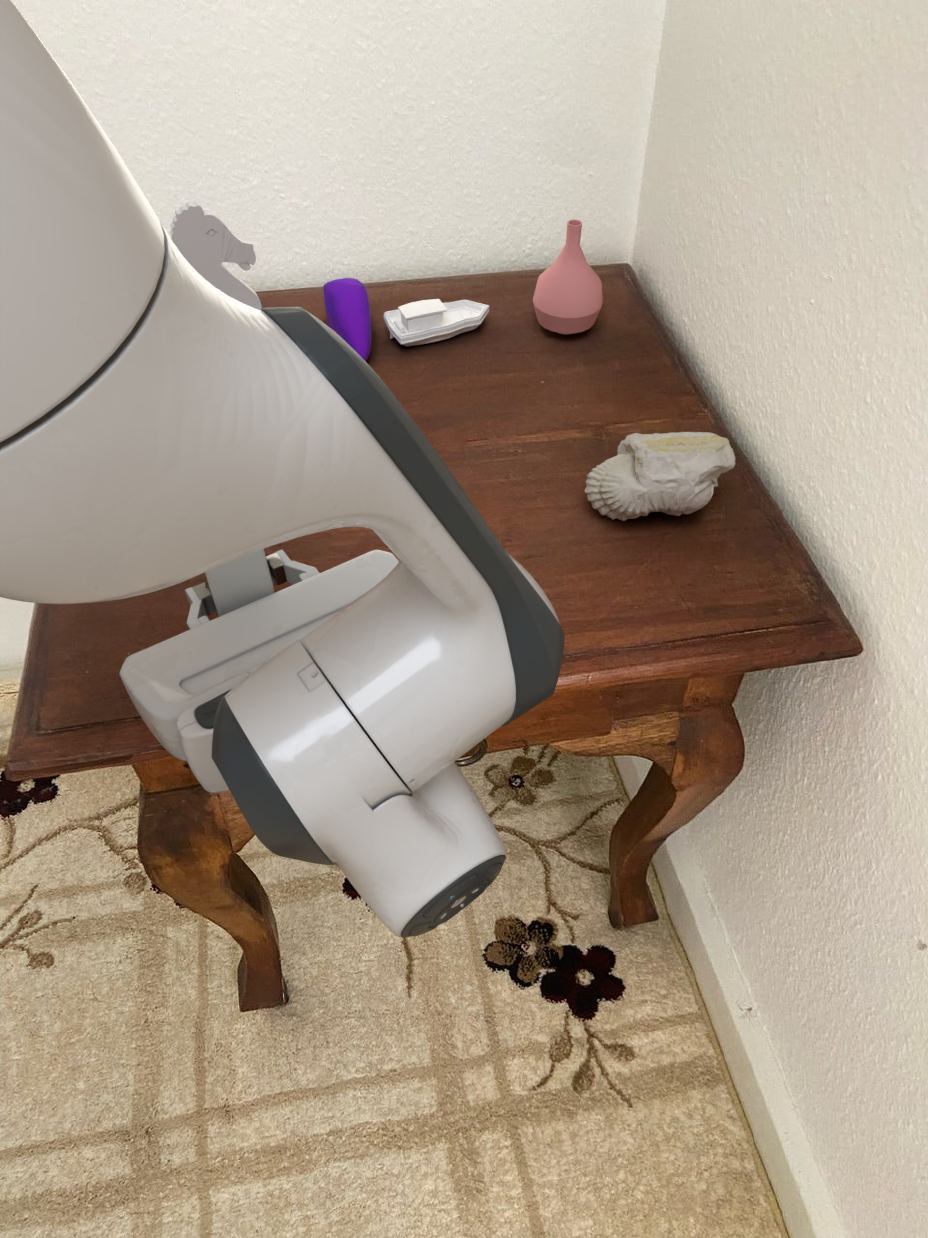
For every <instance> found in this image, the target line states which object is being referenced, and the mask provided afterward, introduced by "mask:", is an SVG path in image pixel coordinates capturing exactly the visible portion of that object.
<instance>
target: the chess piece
mask: <svg viewBox="0 0 928 1238" xmlns="http://www.w3.org/2000/svg"><path fill="white" fill-rule="evenodd" d="M174 214H175V215H174V216H173V217H172V222H171V223H170V229H171V230H170V231H169V233H170V238H171V240H172V241H173V243H174V244H175V246H176V247H177V248H178V250H179V251H180V253H181V254H182V255H183V257H184V258H185V259H186V260H187V261H188V263H189V264H190V265H191V266H192V267H193V268H194V269H195V270H196V271H197V272H198V273H199V274H200V275H201V276H202V277H203V278H204V279H206V280H207V281H208V282H209V283H210V284H212V285H213V286H214V287H216V288H217V289H219V290H220V291H222V292H223V293H225V294H226V295H228V296H230V297H232V298H234V299H235V300H237V301H239V302H241V303H243V304H246V305H248V306H250V307H253V308H255V309H258V310H261V308H263V306H262V305H263V304H262V302H261V300H260V298H259V296H258V294H257V293H256V291H255V290H254V289H253V288H252V287H251V286H250V285H249V284H248V283H246V282H245V281H244V280H242V279H241V278H240V277H239V276H237V275H236V274H235V273H234V272H232V271H231V270H230V269H228V268H227V266H225V265H224V264H223V263H230V264H236V265H237V266H238V267H239V268H240V269H242V270H243V271H247V272H248V271H250V270H251V268H252V266H255V264H256V262H257V256H256V253H255V250H254V244H253V242H252V241H250V240H244V239H241V238H239V237H238V236H237V235H236V234H235V233H233V232H232V230H231V229H230V228H229V227H228V225H227V224H226V223H225V222H224V221H223V219H221V217H220V216H219V215H218V214H217V213H215V212H213V211H211V210H204V209H203V207H202V205H201V203H200V202H199V201H197V200H195V201H194V202H192V201H187V202H186V204H185V205H180V207H179V208H178V209H175V211H174ZM251 265H252V266H251Z"/></svg>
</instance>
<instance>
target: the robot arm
mask: <svg viewBox="0 0 928 1238" xmlns="http://www.w3.org/2000/svg"><path fill="white" fill-rule="evenodd" d="M404 407H405V406H403V404H401V402H400V401H399V399H398V398H397V396H396V395H394V393H393V392H392V390H391V389H390V388H389V386H388V385H386V383H385V382H384V381H383V379H382V378H381V377H380V376H379V374H377V373H376V371H375V370H374V369H373V368H372V367H371V366H370V364H369V363H367V360H366V361H365V360H364V359H363V358H362V357H361V356H360V355H359V354H358V353H357V352H356V351H355V350H354V349H353V348H352V347H351V346H350V345H349V344H348V343H347V342H346V341H345V340H344V339H342V338H341V337H340V336H339V335H338V334H337V333H336V332H335V331H333V330H332V329H331V328H330V327H328V324H327V323H324V321H322V320H321V319H319V318H318V317H317V316H315V315H314V314H312V313H310V312H309V311H307V310H306V309H304V308H303V307H301V306H282V307H281V306H278V307H262V308H261V310H258V309H255V308H253V307H250V306H248V305H246V304H243V303H241V302H239V301H237V300H235V299H234V298H232V297H230V296H228V295H226V294H225V293H223V292H222V291H220V290H219V289H217V288H216V287H214V286H213V285H212V284H210V283H209V282H208V281H207V280H206V279H204V278H203V277H202V276H201V275H200V274H199V273H198V272H197V271H196V270H195V269H194V268H193V267H192V266H191V265H190V264H189V263H188V261H187V260H186V259H185V258H184V257H183V255H182V254H181V253H180V251H179V250H178V248H177V247H176V246H175V244H174V243H173V241H172V240H171V236H170V235H169V233H168V232H167V230H166V229H165V227H164V225H163V224H162V222H161V220H160V219H159V218H158V216H157V214H156V212H155V211H154V209H153V207H152V206H151V204H150V202H149V200H148V199H147V198H146V196H145V194H144V193H143V191H142V189H141V188H140V185H138V183H137V181H136V180H135V178H134V176H133V175H132V173H131V171H130V170H129V168H128V167H127V165H126V163H125V161H124V160H123V158H122V156H121V155H120V153H119V152H118V149H116V146H114V144H113V142H112V141H111V139H110V138H109V136H108V135H107V133H106V132H105V130H104V128H103V127H102V126H101V125H100V123H99V121H98V120H97V119H96V117H95V115H94V114H93V113H92V111H91V109H90V108H89V106H88V104H86V102H85V100H84V99H83V98H82V96H81V94H80V93H79V91H78V90H77V88H76V87H75V85H74V84H73V82H72V81H71V80H70V78H69V77H68V76H67V74H66V73H65V71H64V69H63V68H62V67H61V66H60V65H59V63H58V62H57V61H56V59H55V58H54V56H53V55H52V54H51V52H50V51H49V49H48V48H47V46H46V45H45V44H44V43H43V41H42V40H41V38H40V37H39V35H38V34H37V33H36V31H35V30H34V29H33V26H31V24H30V23H29V22H28V20H27V18H25V16H24V15H23V13H22V12H21V10H20V9H19V8H18V6H17V5H16V4H15V3H14V2H13V0H0V598H3V599H7V600H11V601H18V602H23V603H32V604H43V605H44V604H45V605H72V604H73V605H76V604H91V603H92V604H95V603H102V602H103V603H104V602H111V601H117V600H123V599H128V598H132V597H133V598H134V597H138V596H141V595H146V594H151V593H154V592H157V591H162V590H163V589H167V588H169V587H173V586H175V585H178V584H182V583H183V582H186V581H188V580H190V579H193V578H195V577H197V576H200V575H202V574H205V572H207V571H209V570H212V569H214V568H216V567H219V566H221V565H224V564H226V563H228V562H231V561H233V560H236V559H238V558H241V557H243V556H245V555H248V554H251V553H253V552H256V551H259V550H261V549H264V550H265V549H267V548H270V547H272V546H275V545H278V544H282V543H285V542H288V541H290V540H294V539H297V538H301V537H304V536H308V535H312V534H316V533H320V532H324V531H330V530H335V529H341V528H366V529H369V530H372V531H373V533H374V534H375V535H377V537H378V538H379V539H380V540H381V541H382V542H383V543H384V544H385V545H386V546H387V548H388V549H389V550H390V551H391V552H390V551H387V550H382V549H372V550H370V551H368V552H366V553H363V554H361V555H359V556H356V557H354V558H352V559H349V560H347V561H345V562H342V563H341V564H337V565H336V566H333V567H331V568H329V569H326V570H324V571H321V572H319V570H318V569H317V567H316V566H312V565H308V564H305V563H301V562H299V561H296V560H291V559H290V558H289V557H290V556H288V555H287V553H286V552H285V551H284V550H283V549H279V550H277V551H275V552H272V553H270V554H268V555H265V556H266V560H267V564H268V568H269V572H270V576H271V579H272V582H273V583H274V584H275V585H276V587H278V586H281V585H283V584H285V583H288V584H290V586H287V587H285V588H282V589H280V590H278V591H276V592H275V591H274V592H275V593H273V594H271V595H269V596H266V597H264V598H262V599H259V600H257V601H255V602H252V603H250V604H248V605H245V606H243V607H241V608H239V609H236V610H234V611H232V612H229V613H227V614H225V615H222V616H220V617H219V616H218V617H215V618H213V619H211V620H210V619H209V617H208V616H211V615H213V614H215V613H218V612H217V609H216V606H215V603H214V600H213V597H212V594H211V590H210V588H208V586H207V583H206V581H203V582H200V583H197V584H195V585H192V586H190V587H187V588H186V589H184V592H185V596H186V598H187V601H188V604H189V611H188V615H187V619H186V625H187V628H188V630H186V631H183V632H181V633H179V634H177V635H174V636H172V637H169V638H167V639H164V640H162V641H161V642H158V643H156V644H153V645H151V646H149V647H147V648H144V649H142V650H139V651H137V652H135V653H132V654H130V655H128V656H127V657H125V659H124V661H123V663H122V665H121V668H120V670H119V677H120V679H121V682H122V684H123V686H124V688H125V691H126V692H127V694H128V697H129V698H130V701H131V702H132V704H133V706H134V708H135V709H136V711H137V713H138V715H139V716H140V718H141V719H142V721H143V723H144V724H145V726H146V727H147V728H148V730H149V731H150V732H151V734H152V736H154V737H155V739H156V740H157V742H158V743H159V744H160V745H161V746H162V747H163V748H164V749H165V750H166V752H168V753H169V754H170V755H171V756H173V757H174V758H176V759H178V760H181V761H183V762H187V764H188V766H189V768H190V770H191V772H192V774H193V776H194V777H195V778H196V780H197V782H198V783H199V784H200V786H201V787H202V788H203V790H205V791H206V792H208V793H211V794H212V793H213V794H215V793H223V792H227V791H229V792H230V794H231V795H232V798H233V800H234V802H235V803H236V805H237V807H238V808H239V810H240V812H241V814H242V816H243V817H244V820H245V821H246V823H247V825H248V826H249V828H250V829H251V831H252V833H253V834H254V835H255V837H256V838H257V840H258V841H259V842H260V843H261V844H262V845H263V846H264V847H265V848H266V849H267V850H269V851H270V852H271V853H272V854H274V855H276V856H278V857H283V858H287V859H290V860H296V861H300V862H305V863H308V864H314V865H316V864H317V865H322V866H324V865H325V866H334V864H336V865H337V866H338V868H339V869H340V871H341V872H342V873H343V875H344V876H345V877H346V879H347V881H348V882H349V883H350V884H351V886H352V887H353V888H354V889H355V891H356V892H357V894H358V895H359V896H360V898H361V899H362V900H363V901H364V903H366V905H367V906H368V907H369V909H370V910H371V911H372V912H373V913H374V914H375V915H376V917H377V918H378V919H379V921H381V923H382V924H383V925H384V926H385V927H386V928H387V929H388V930H389V931H390V932H391V933H392V934H393V935H394V936H396V937H398V938H401V939H403V938H404V939H405V938H410V937H419V936H421V935H424V934H427V933H429V932H431V931H434V930H435V929H436V928H438V926H440V925H442V924H445V923H446V922H448V921H449V920H451V919H453V918H454V917H455V916H456V915H457V914H459V913H460V912H461V911H463V910H464V909H465V908H466V907H468V906H469V905H470V904H472V903H473V902H474V901H475V900H476V899H478V898H479V896H481V895H482V894H483V893H484V892H485V891H486V890H487V888H488V887H489V886H491V885H492V884H493V883H494V882H495V880H496V879H497V878H498V876H499V875H500V874H501V872H502V870H503V865H504V863H505V861H506V860H507V849H506V847H505V844H504V842H503V840H502V838H501V836H500V834H499V832H498V830H497V828H496V826H495V824H494V822H493V821H492V819H491V817H490V815H489V814H488V812H487V810H486V808H485V807H484V805H483V803H482V801H481V800H480V798H479V796H478V795H477V793H476V792H475V790H474V788H473V787H472V785H471V784H470V782H469V780H468V779H467V777H466V776H465V774H464V772H463V771H462V770H461V769H460V767H459V766H458V764H457V763H456V761H457V760H459V759H460V758H462V757H463V756H464V755H465V754H467V753H468V752H469V751H470V750H472V749H473V748H474V747H476V746H478V744H479V743H481V742H483V741H484V739H486V738H488V737H489V736H490V735H491V734H493V733H494V732H495V731H497V730H498V729H499V728H501V727H506V726H508V724H511V723H512V722H514V721H515V720H517V719H518V718H520V717H521V716H523V715H524V714H527V713H528V712H529V711H532V709H534V708H535V707H537V706H538V705H540V704H541V703H543V702H544V701H546V700H548V699H549V698H551V697H553V695H554V694H555V692H556V688H557V684H558V681H559V677H560V674H561V673H560V672H561V669H562V664H563V659H564V653H565V652H564V651H565V640H566V639H565V638H566V635H565V632H564V630H563V628H562V626H561V624H560V620H559V618H558V615H557V613H556V611H555V608H554V606H553V604H552V602H551V601H550V599H549V597H548V596H547V594H546V593H545V592H544V589H542V587H541V585H540V584H539V583H538V582H537V581H536V580H535V578H534V576H532V575H531V573H530V572H529V571H528V570H527V569H526V568H525V567H524V566H523V565H522V564H521V563H520V562H519V561H517V559H515V558H514V557H513V556H512V555H511V554H510V553H508V552H507V550H505V548H504V546H503V545H502V543H501V542H500V541H499V539H498V538H497V536H496V535H495V533H494V532H493V530H492V529H491V528H490V526H489V525H488V524H487V522H486V521H485V519H484V518H483V516H482V515H481V513H480V511H479V510H478V508H477V507H476V506H475V504H474V503H473V502H472V500H471V499H470V498H469V496H468V494H467V493H466V492H465V490H464V489H463V487H462V486H461V485H460V483H459V481H458V480H457V478H456V477H455V476H454V474H453V473H452V471H451V470H450V469H449V467H448V466H447V464H446V462H445V461H444V459H442V457H441V456H440V454H439V453H438V451H437V450H436V449H435V448H434V446H433V445H432V443H431V442H430V441H429V440H428V438H427V437H426V435H425V434H424V432H423V431H422V429H420V427H419V426H418V425H417V423H416V422H415V421H414V419H413V418H412V417H411V415H410V413H408V411H407V410H406V409H405V408H404Z"/></svg>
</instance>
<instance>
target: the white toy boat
mask: <svg viewBox="0 0 928 1238" xmlns="http://www.w3.org/2000/svg"><path fill="white" fill-rule="evenodd" d="M489 312H490V305H489V304H484V303H481V302H476V301H473V300H469V299H460V300H455V301H449V302H442V300H441V299H440V298H432V299H431V298H430V299H422V300H417V301H411V302H408V303H405V304H403V305H400V306H397V309H393V310H388V311H384V313H383V321H384V322H385V325H386V327H387V329H388V331H389V339H390V340H391V339H393V338H395V339H396V341H397V342H398V343H399V345H401V346H404V347H412V346H420V345H424V344H431V343H436V342H439V341H444V340H447V339H450V338H453V337H455V336H458V335H461V334H463V333H467V332H470V331H473V330H475V329H477V328H478V327H479V326H480V325H482V323H483V321H484V320H485V318H486V317H487V315H488V314H489Z"/></svg>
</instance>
